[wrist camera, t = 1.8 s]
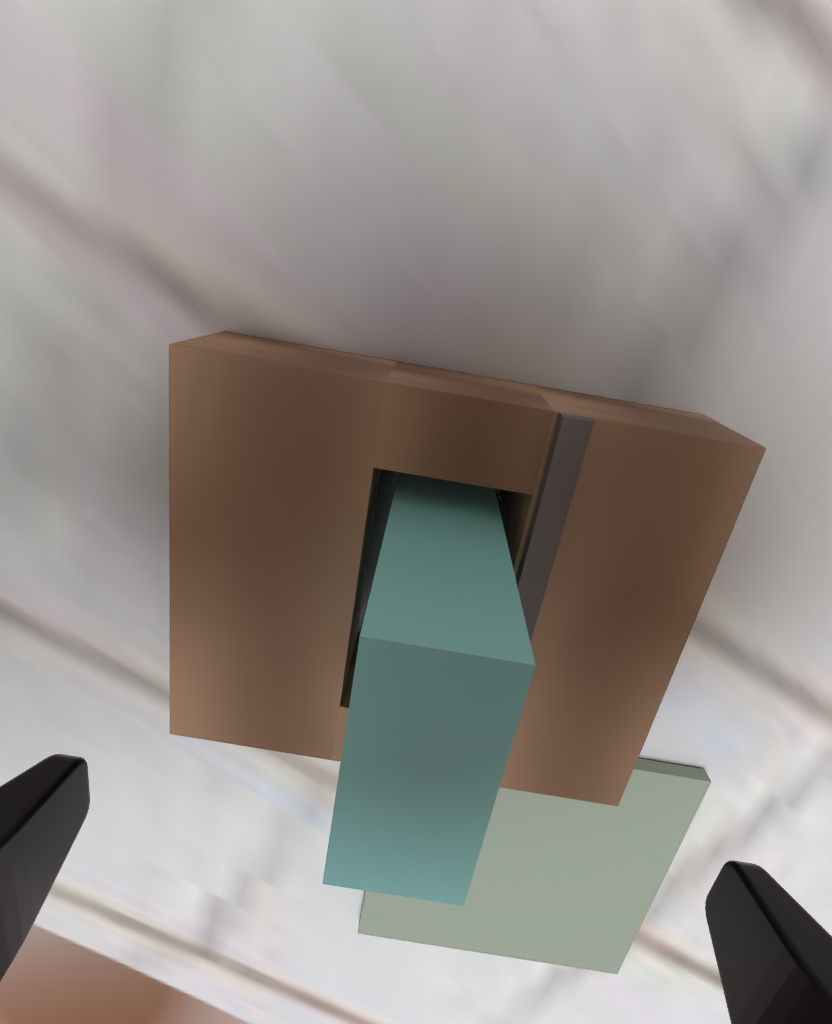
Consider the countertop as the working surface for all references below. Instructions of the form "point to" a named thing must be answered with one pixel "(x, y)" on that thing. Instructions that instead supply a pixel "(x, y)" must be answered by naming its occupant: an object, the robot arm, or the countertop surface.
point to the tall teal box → (430, 697)
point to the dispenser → (349, 524)
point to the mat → (558, 875)
